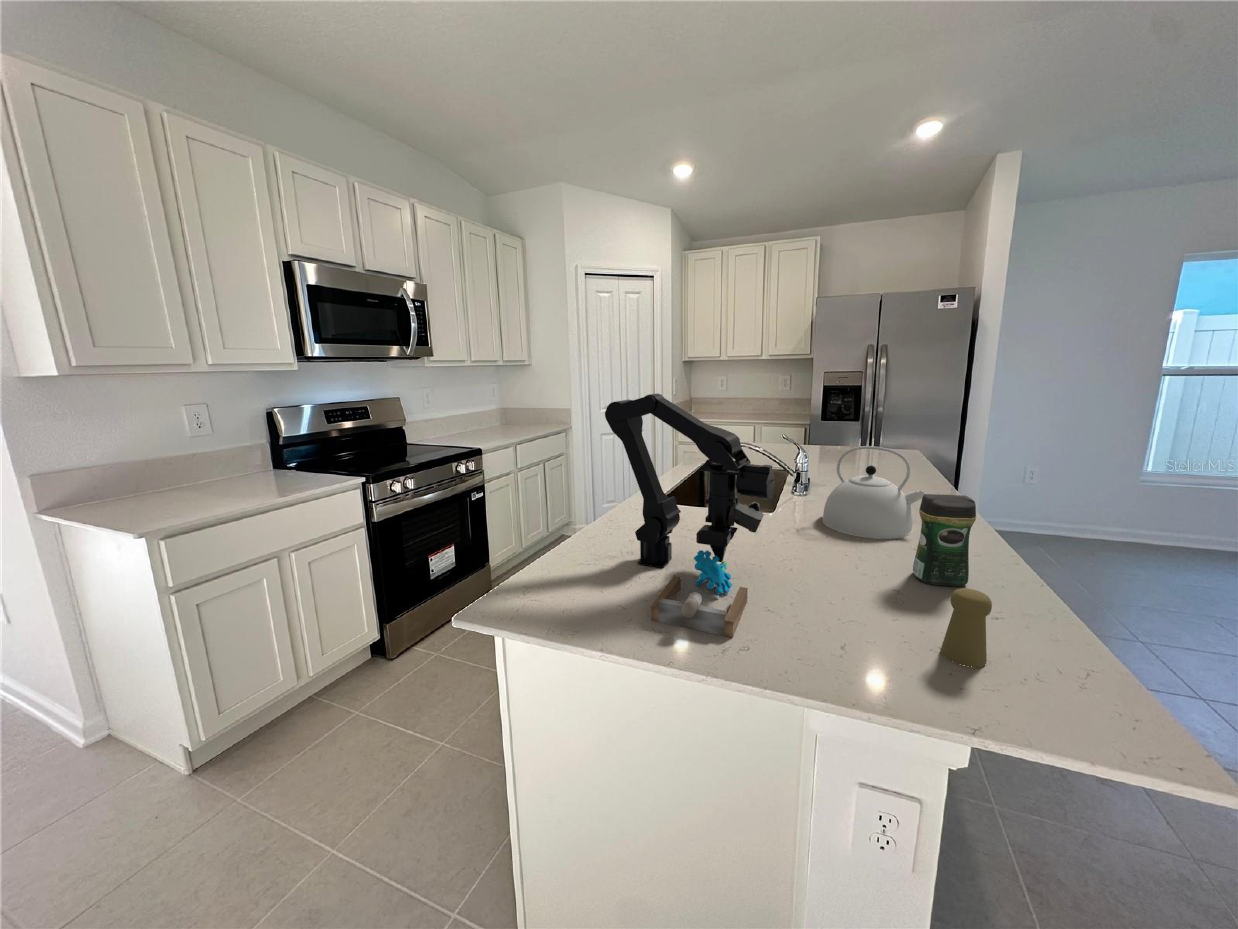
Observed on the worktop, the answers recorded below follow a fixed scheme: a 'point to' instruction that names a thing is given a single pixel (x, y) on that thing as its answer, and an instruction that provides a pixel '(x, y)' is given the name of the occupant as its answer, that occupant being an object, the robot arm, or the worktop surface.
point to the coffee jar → (944, 539)
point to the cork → (967, 628)
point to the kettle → (871, 504)
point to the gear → (712, 572)
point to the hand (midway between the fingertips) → (720, 561)
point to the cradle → (697, 611)
